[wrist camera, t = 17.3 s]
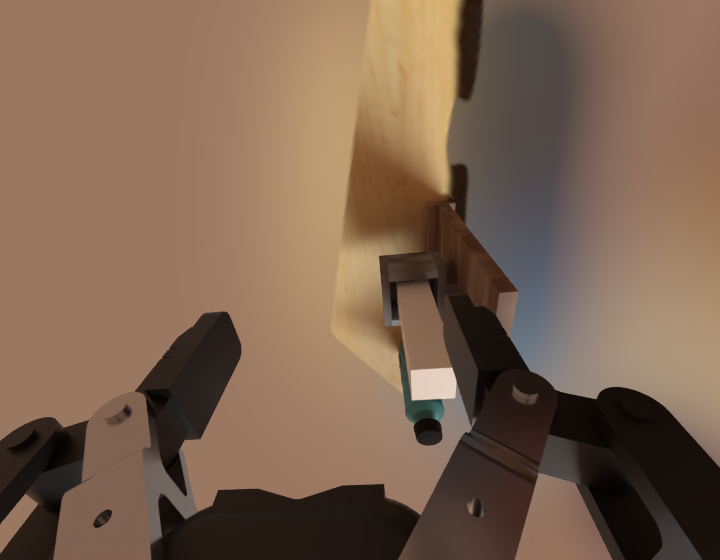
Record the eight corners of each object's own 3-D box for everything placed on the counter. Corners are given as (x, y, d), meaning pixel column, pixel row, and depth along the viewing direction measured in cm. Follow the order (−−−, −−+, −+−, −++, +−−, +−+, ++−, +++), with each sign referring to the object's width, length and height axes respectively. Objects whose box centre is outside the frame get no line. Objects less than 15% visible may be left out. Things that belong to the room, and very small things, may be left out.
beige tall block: (395, 295, 44) (411, 400, 29) (394, 271, 42) (410, 370, 27) (423, 293, 44) (455, 398, 28) (423, 268, 42) (457, 367, 26)
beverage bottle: (423, 360, 64) (444, 455, 47) (392, 354, 64) (402, 449, 46) (433, 336, 61) (460, 429, 44) (401, 331, 60) (415, 423, 43)
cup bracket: (382, 293, 56) (392, 422, 34) (375, 208, 48) (382, 302, 26) (448, 288, 55) (505, 416, 33) (452, 200, 47) (531, 290, 25)
